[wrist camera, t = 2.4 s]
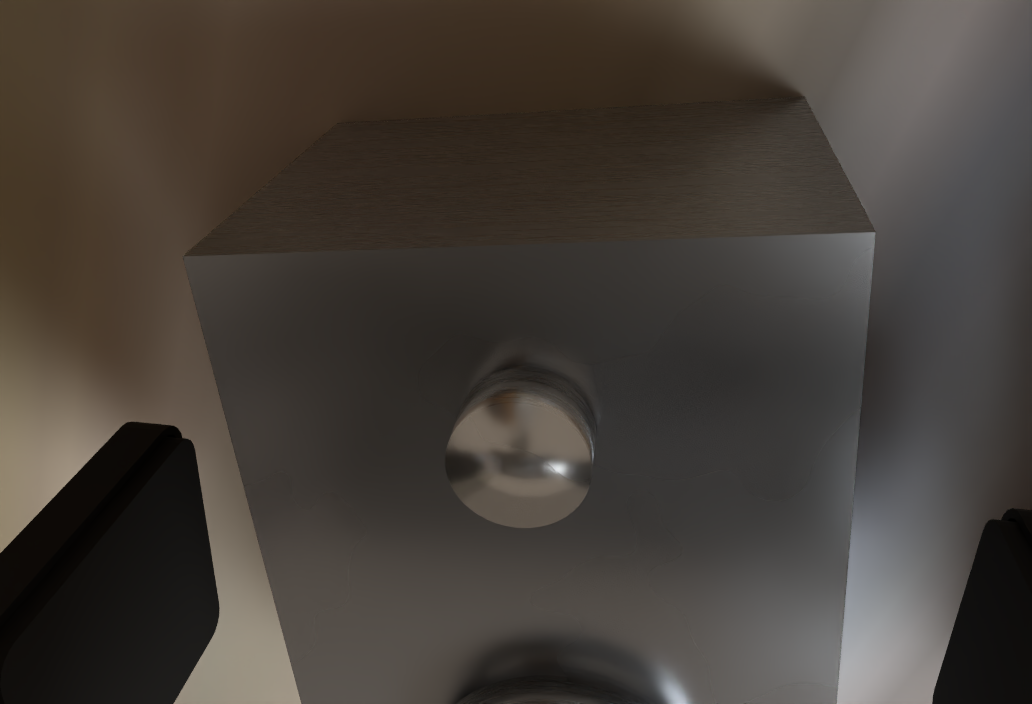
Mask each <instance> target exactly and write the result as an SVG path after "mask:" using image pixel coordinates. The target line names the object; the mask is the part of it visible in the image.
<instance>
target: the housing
mask: <svg viewBox="0 0 1032 704" xmlns="http://www.w3.org/2000/svg"><path fill="white" fill-rule="evenodd" d="M875 234H876V232H875V230H874V228H873V226H872V224H871V222H870V220H869V218H868V217H867V215H866V213H865V211H864V209H863V207H862V205H861V203H860V201H859V199H858V197H857V196H856V194H855V192H854V190H853V188H852V186H851V184H850V182H849V180H848V178H847V177H846V175H845V173H844V171H843V169H842V167H841V165H840V163H839V161H838V159H837V157H836V156H835V154H834V152H833V150H832V148H831V146H830V144H829V142H828V140H827V138H826V136H825V135H824V133H823V131H822V129H821V127H820V125H819V123H818V121H817V119H816V117H815V116H814V114H813V112H812V110H811V108H810V106H809V104H808V102H807V100H806V98H805V97H790V98H773V99H755V100H738V101H720V102H703V103H685V104H668V105H650V106H633V107H615V108H598V109H580V110H563V111H545V112H528V113H510V114H493V115H475V116H458V117H440V118H423V119H405V120H388V121H370V122H353V123H337V124H336V125H335V126H334V127H333V128H332V129H330V130H329V131H328V132H327V133H326V134H325V135H324V136H322V137H321V138H320V139H319V140H318V141H317V142H315V143H314V144H313V145H312V146H311V147H310V148H308V149H307V150H306V151H305V152H304V153H303V154H301V155H300V156H299V157H298V158H297V159H296V160H294V161H293V162H292V163H291V164H290V165H289V166H287V167H286V168H285V169H284V170H283V171H282V172H280V173H279V174H278V175H277V176H276V177H275V178H273V179H272V180H271V181H270V182H269V183H268V184H266V185H265V186H264V187H263V188H262V189H261V190H259V191H258V192H257V193H256V194H255V195H254V196H252V197H251V198H250V199H249V200H248V201H247V202H245V203H244V204H243V205H242V206H241V207H240V208H238V209H237V210H236V211H235V212H234V213H233V214H232V215H230V216H229V217H228V218H227V219H226V220H225V221H223V222H222V223H221V224H220V225H219V226H218V227H216V228H215V229H214V230H213V231H212V232H211V233H209V234H208V235H207V236H206V237H205V238H204V239H202V240H201V241H200V242H199V243H198V244H197V245H195V246H194V247H193V248H192V249H191V250H190V251H188V252H187V253H186V254H185V255H184V256H183V260H184V264H185V267H186V271H187V275H188V279H189V282H190V286H191V290H192V294H193V297H194V301H195V305H196V309H197V312H198V316H199V320H200V324H201V327H202V331H203V335H204V339H205V343H206V346H207V350H208V354H209V358H210V361H211V365H212V369H213V373H214V376H215V380H216V384H217V388H218V391H219V395H220V399H221V403H222V406H223V410H224V414H225V418H226V421H227V425H228V429H229V433H230V437H231V440H232V444H233V448H234V452H235V455H236V459H237V463H238V467H239V470H240V474H241V478H242V482H243V485H244V489H245V493H246V497H247V500H248V504H249V508H250V512H251V516H252V519H253V523H254V527H255V531H256V534H257V538H258V542H259V546H260V549H261V553H262V557H263V561H264V564H265V568H266V572H267V576H268V579H269V583H270V587H271V591H272V594H273V598H274V602H275V606H276V610H277V613H278V617H279V621H280V625H281V628H282V632H283V636H284V640H285V643H286V647H287V651H288V655H289V658H290V662H291V666H292V670H293V673H294V677H295V681H296V685H297V689H298V692H299V696H300V700H301V704H836V703H837V691H838V679H839V667H840V655H841V643H842V631H843V619H844V607H845V595H846V583H847V571H848V559H849V547H850V535H851V523H852V511H853V499H854V487H855V475H856V463H857V451H858V439H859V427H860V415H861V403H862V391H863V379H864V367H865V355H866V343H867V330H868V318H869V306H870V294H871V282H872V270H873V258H874V246H875Z"/></svg>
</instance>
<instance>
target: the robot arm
mask: <svg viewBox="0 0 1032 704" xmlns="http://www.w3.org/2000/svg"><path fill="white" fill-rule="evenodd" d="M218 618H219V600H218V594H217V588H216V581H215V575H214V568H213V562H212V556H211V549H210V543H209V536H208V530H207V524H206V517H205V511H204V504H203V498H202V492H201V485H200V479H199V472H198V466H197V460H196V453H195V448H194V445H193V443H192V441H191V440H189V439H184V438H182V435H181V432H180V431H179V429H178V428H177V427H175V426H171V425H161V424H151V423H141V422H127V423H126V424H124V425H123V426H122V427H121V428H120V429H119V430H118V431H117V432H116V433H115V434H114V435H113V436H112V437H111V438H110V439H109V440H108V441H107V442H106V443H105V444H104V446H103V447H102V448H101V449H100V450H99V451H98V452H97V453H96V454H95V455H94V456H93V457H92V458H91V459H90V460H89V461H88V462H87V463H86V464H85V465H84V466H83V467H82V469H81V470H80V471H79V472H78V473H77V474H76V475H75V476H74V477H73V478H72V479H71V480H70V481H69V482H68V483H67V484H66V485H65V486H64V487H63V488H62V489H61V490H60V492H59V493H58V494H57V495H56V496H55V497H54V498H53V499H52V500H51V501H50V502H49V503H48V504H47V505H46V506H45V507H44V508H43V509H42V510H41V511H40V512H39V514H38V515H37V516H36V517H35V518H34V519H33V520H32V521H31V522H30V523H29V524H28V525H27V526H26V527H25V528H24V529H23V530H22V531H21V532H20V533H19V534H18V535H17V537H16V538H15V539H14V540H13V541H12V542H11V543H10V544H9V545H8V546H7V547H6V548H5V549H4V550H3V551H2V552H1V553H0V704H173V703H174V702H175V700H176V698H177V697H178V695H179V693H180V692H181V690H182V688H183V686H184V685H185V683H186V681H187V680H188V678H189V676H190V674H191V673H192V671H193V669H194V668H195V666H196V664H197V662H198V661H199V659H200V657H201V656H202V654H203V652H204V650H205V649H206V647H207V645H208V644H209V642H210V640H211V638H212V637H213V635H214V632H215V630H216V627H217V623H218ZM932 704H1032V510H1024V509H1014V508H1012V509H1009V510H1007V511H1006V513H1005V514H1004V515H1003V517H1002V519H1001V520H994V519H992V520H989V521H988V522H987V523H986V525H985V527H984V530H983V533H982V536H981V539H980V542H979V546H978V549H977V552H976V555H975V559H974V562H973V565H972V569H971V572H970V575H969V578H968V582H967V585H966V588H965V591H964V595H963V598H962V601H961V604H960V608H959V611H958V614H957V618H956V621H955V624H954V627H953V631H952V634H951V637H950V640H949V644H948V647H947V650H946V654H945V657H944V660H943V663H942V667H941V670H940V673H939V676H938V680H937V683H936V686H935V690H934V694H933V703H932Z"/></svg>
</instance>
